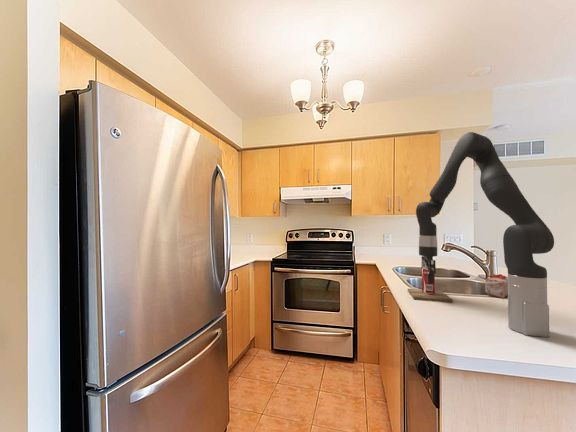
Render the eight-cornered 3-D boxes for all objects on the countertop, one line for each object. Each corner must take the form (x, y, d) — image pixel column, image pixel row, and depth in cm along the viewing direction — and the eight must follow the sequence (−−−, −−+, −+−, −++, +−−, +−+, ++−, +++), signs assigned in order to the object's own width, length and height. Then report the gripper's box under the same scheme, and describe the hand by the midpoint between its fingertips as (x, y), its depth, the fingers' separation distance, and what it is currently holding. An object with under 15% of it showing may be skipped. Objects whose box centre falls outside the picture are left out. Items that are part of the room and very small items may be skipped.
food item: (505, 300, 116) (505, 277, 116) (483, 295, 122) (483, 274, 122) (513, 294, 124) (513, 274, 124) (493, 291, 130) (492, 271, 131)
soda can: (423, 291, 124) (423, 265, 125) (436, 293, 121) (435, 267, 122) (420, 293, 120) (420, 267, 121) (433, 295, 117) (433, 268, 118)
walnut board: (452, 302, 111) (452, 299, 111) (414, 299, 115) (414, 296, 115) (441, 293, 126) (441, 290, 126) (407, 290, 130) (407, 288, 130)
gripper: (442, 246, 113) (442, 284, 113) (432, 244, 127) (432, 278, 127) (422, 246, 115) (423, 283, 115) (415, 244, 129) (415, 277, 128)
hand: (428, 280), depth 121 cm, fingers open, 8 cm apart
